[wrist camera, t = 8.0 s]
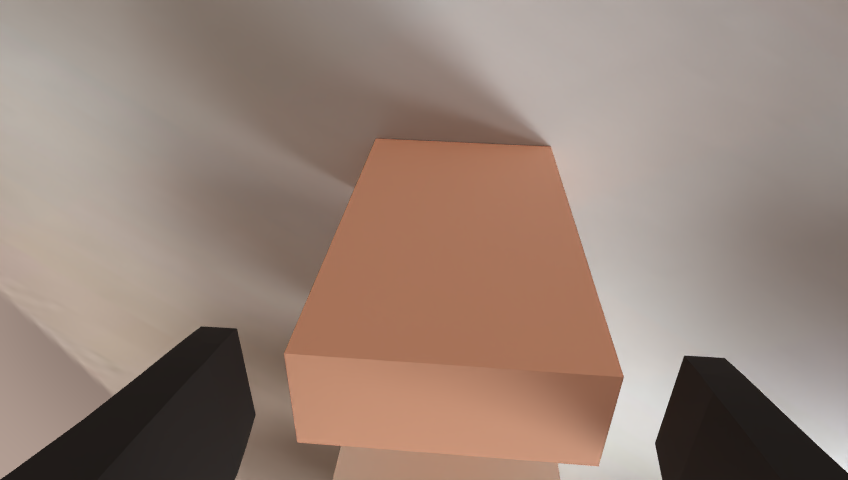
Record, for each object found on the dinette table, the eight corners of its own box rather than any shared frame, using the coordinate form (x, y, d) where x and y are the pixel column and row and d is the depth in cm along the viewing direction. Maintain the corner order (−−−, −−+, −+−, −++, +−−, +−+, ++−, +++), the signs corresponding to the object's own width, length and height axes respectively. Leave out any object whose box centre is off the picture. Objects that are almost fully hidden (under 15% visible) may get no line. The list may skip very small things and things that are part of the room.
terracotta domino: (375, 138, 16) (284, 353, 8) (550, 146, 16) (624, 377, 8) (377, 200, 17) (297, 442, 9) (541, 208, 17) (598, 466, 9)
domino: (381, 281, 19) (315, 545, 11) (531, 289, 18) (573, 567, 11) (383, 327, 20) (324, 598, 12) (525, 335, 19) (559, 619, 12)
